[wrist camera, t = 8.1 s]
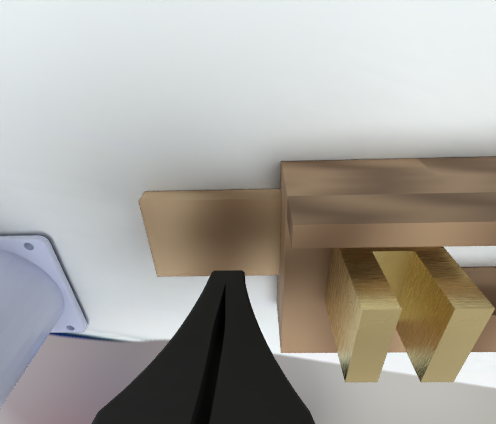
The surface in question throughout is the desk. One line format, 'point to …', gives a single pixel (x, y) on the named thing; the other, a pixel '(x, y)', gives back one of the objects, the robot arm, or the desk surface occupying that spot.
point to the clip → (403, 310)
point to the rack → (327, 230)
